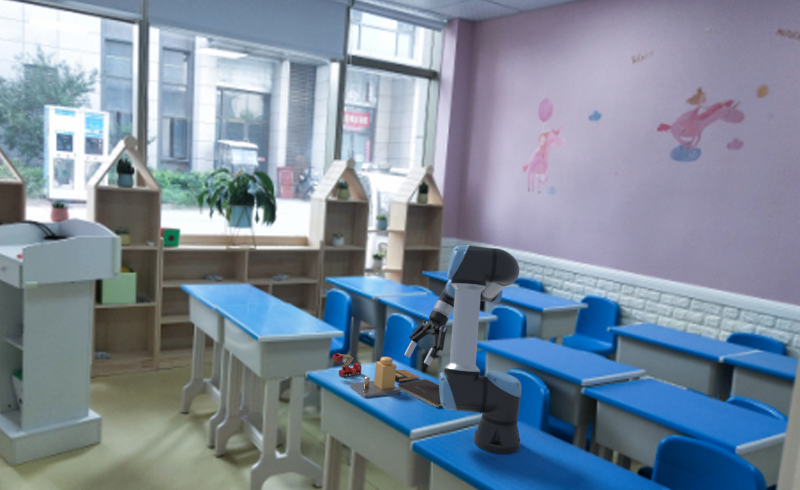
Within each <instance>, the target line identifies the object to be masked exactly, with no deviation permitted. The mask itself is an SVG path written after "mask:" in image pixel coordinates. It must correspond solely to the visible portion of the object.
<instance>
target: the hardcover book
mask: <svg viewBox="0 0 800 490" xmlns="http://www.w3.org/2000/svg"><path fill="white" fill-rule="evenodd" d="M396 384H397V386H398V387H397V388H399V389H400V391H403V392H405V393H407V394H409V395H411V396H413V397H414V398H416V399H419V400H421V401H422V402H424V403H426V404H428V405H430V406H432V405H433V406H432V407H434V408H436V407H437V408H440V407H439V406H442V405H441V401H440V393H439V383H435V382H433V381H432V380H429V379H427V378H423V379H416V380H410V381H405V382H399V383H396Z"/></svg>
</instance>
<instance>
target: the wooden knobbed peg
mask: <svg viewBox="0 0 800 490" xmlns="http://www.w3.org/2000/svg"><path fill="white" fill-rule="evenodd" d="M374 369H375V370H374V380H373V381H374V384H375V385H376V386H378V387H379V388H381V389H384V388H393V387H394V386H395V385H396V384H395V383H396V381H395V376H396V370H397V365H396V364H395V363H394V361H393V358H392V357H389V356H381V357H380V361H376V362H375V368H374Z"/></svg>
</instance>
